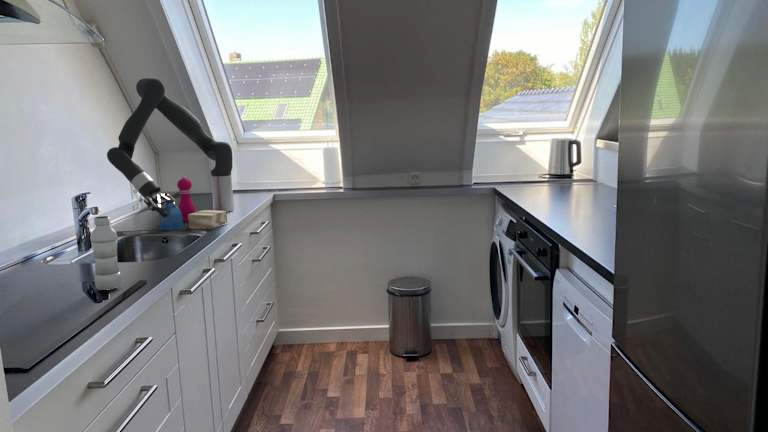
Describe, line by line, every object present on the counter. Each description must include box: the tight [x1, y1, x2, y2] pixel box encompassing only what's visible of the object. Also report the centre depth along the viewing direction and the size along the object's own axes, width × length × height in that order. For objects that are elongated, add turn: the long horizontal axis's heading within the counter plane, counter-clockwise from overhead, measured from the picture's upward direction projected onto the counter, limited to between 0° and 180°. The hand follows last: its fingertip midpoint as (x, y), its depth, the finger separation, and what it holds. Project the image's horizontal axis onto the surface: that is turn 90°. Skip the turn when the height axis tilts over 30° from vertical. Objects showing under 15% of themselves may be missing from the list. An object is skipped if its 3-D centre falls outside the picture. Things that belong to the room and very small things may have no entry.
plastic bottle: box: [89, 215, 123, 291], centre depth 149 cm, size 6×7×20 cm
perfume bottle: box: [158, 199, 184, 232], centre depth 229 cm, size 6×6×12 cm
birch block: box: [188, 209, 228, 230], centre depth 233 cm, size 11×11×6 cm
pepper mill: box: [176, 174, 196, 223], centre depth 245 cm, size 7×7×20 cm
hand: (172, 214), depth 229 cm, fingers open, 8 cm apart
